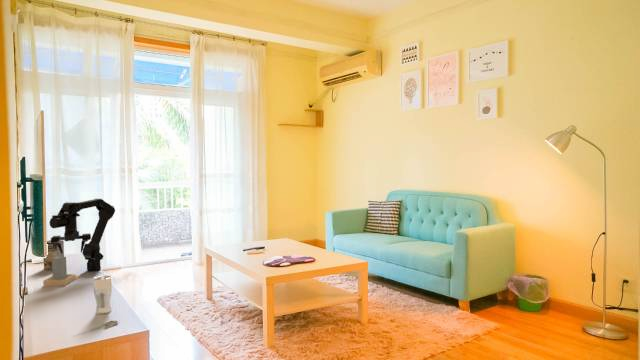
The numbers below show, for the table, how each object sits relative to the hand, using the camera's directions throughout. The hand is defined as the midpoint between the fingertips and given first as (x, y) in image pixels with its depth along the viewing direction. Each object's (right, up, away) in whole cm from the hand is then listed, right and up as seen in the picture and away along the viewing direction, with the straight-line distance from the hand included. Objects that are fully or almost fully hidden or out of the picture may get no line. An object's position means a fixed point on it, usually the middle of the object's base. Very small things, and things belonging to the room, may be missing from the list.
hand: (71, 253), depth 238 cm
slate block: (-1, -13, -10) cm, 17 cm away
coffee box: (-21, -12, +18) cm, 30 cm away
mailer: (-1, -14, -7) cm, 15 cm away
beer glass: (+43, -17, -51) cm, 69 cm away
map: (+49, -19, -71) cm, 88 cm away
